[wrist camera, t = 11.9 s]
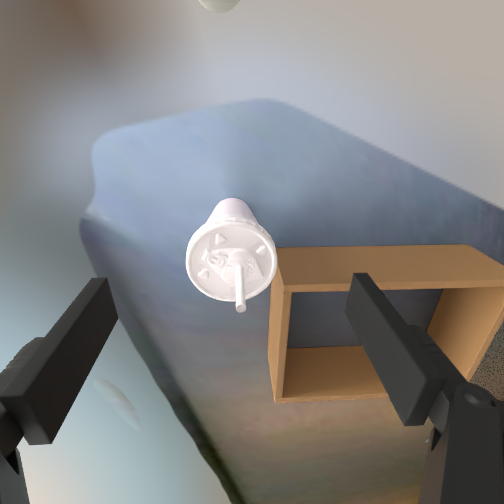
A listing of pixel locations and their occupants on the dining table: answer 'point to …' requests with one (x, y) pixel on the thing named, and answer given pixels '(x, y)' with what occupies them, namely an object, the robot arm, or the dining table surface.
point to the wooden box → (386, 278)
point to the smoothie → (231, 255)
